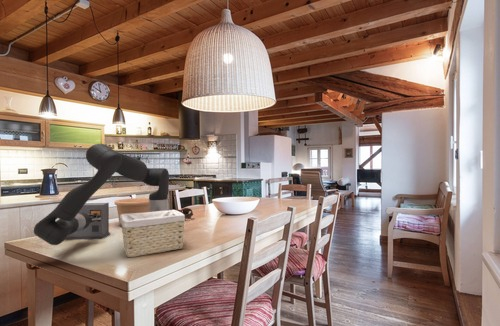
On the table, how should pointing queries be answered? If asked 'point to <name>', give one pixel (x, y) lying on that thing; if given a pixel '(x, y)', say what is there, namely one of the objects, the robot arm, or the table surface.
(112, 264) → the table surface
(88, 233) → the switch box
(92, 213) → the orange paddle
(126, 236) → the storage basket
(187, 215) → the pottery mug
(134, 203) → the pottery
